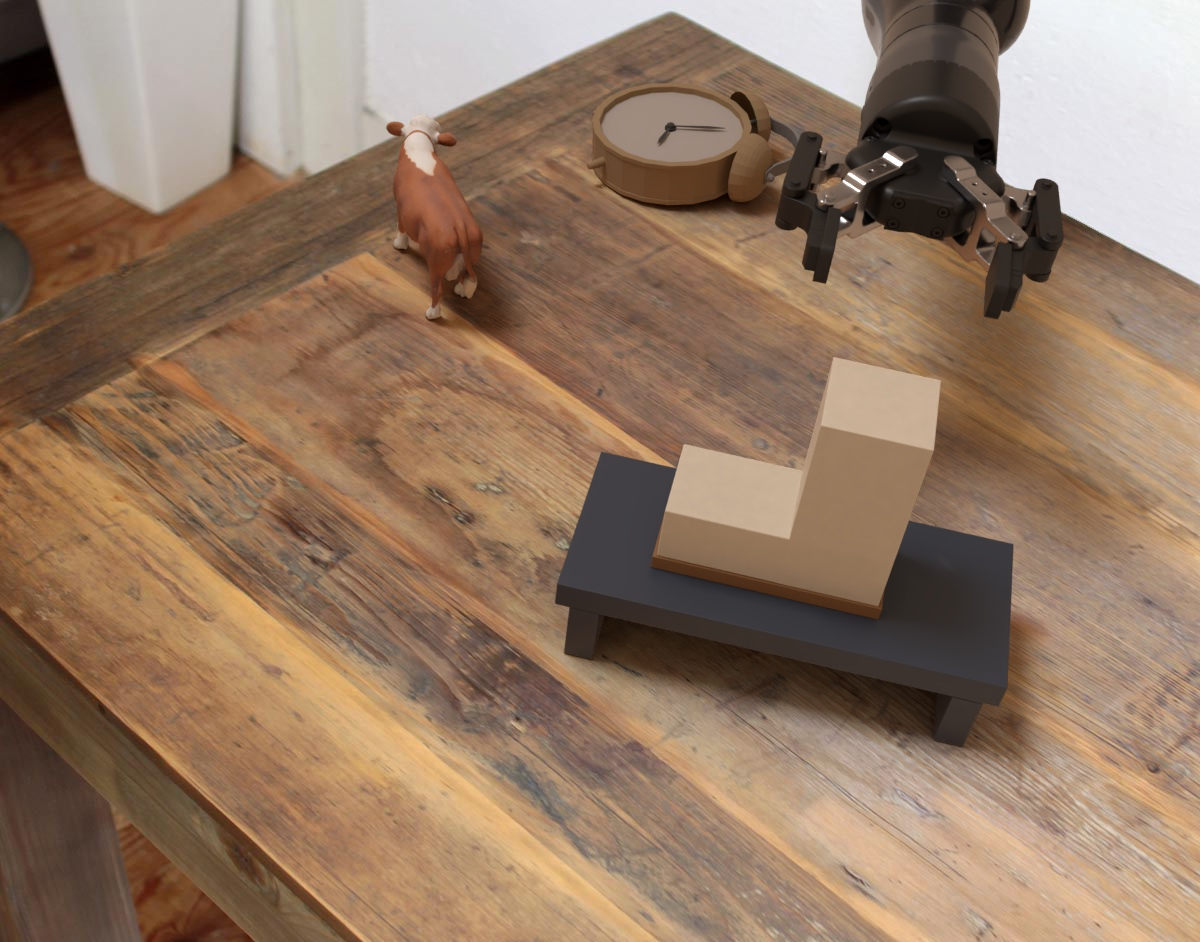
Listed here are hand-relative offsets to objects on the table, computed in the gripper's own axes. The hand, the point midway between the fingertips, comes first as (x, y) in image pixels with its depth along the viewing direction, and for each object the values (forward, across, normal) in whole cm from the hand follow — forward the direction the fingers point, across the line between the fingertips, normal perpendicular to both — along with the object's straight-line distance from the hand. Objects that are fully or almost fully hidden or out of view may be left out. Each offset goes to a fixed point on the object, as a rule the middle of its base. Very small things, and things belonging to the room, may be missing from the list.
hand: (909, 286), depth 72 cm
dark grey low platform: (+9, -2, +16) cm, 19 cm away
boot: (+9, -4, +11) cm, 15 cm away
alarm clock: (-33, -14, +16) cm, 39 cm away
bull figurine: (-15, -28, +16) cm, 36 cm away
